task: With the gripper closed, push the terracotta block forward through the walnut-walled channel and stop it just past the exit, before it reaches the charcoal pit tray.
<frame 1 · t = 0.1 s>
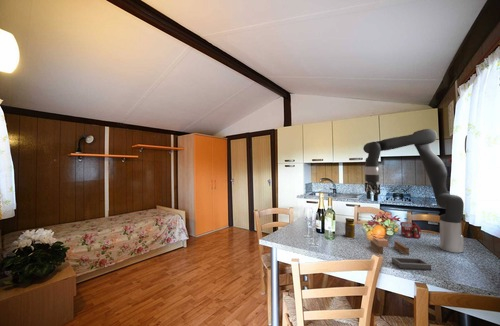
hand: (372, 200, 127), 29 cm above the table, tool pointing down, fingers open, 8 cm apart
pit tray: (410, 266, 102), on the table
channel: (388, 250, 121), on the table
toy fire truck: (410, 237, 145), on the table
block: (380, 245, 130), on the table
condiment: (348, 236, 145), on the table
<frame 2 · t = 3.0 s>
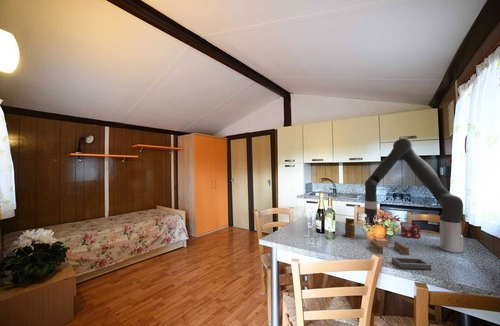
hand: (370, 232, 142), 4 cm above the table, tool pointing down, fingers closed
nothing on the table moved.
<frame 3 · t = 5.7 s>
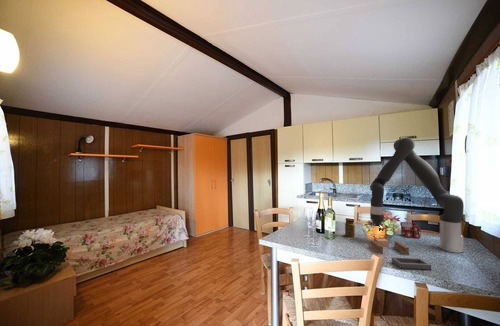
hand: (376, 239, 134), 2 cm above the table, tool pointing down, fingers closed
block: (380, 245, 129), on the table, touching gripper
everything else where it was.
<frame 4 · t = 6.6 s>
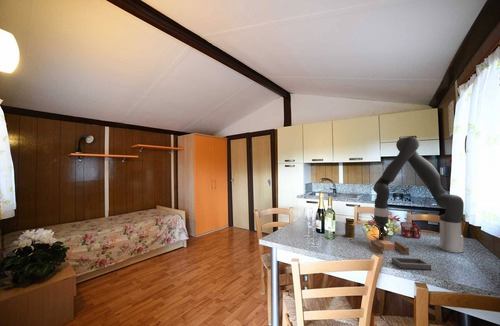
hand: (381, 242, 129), 2 cm above the table, tool pointing down, fingers closed
block: (386, 248, 124), on the table, touching gripper
everything else where it was.
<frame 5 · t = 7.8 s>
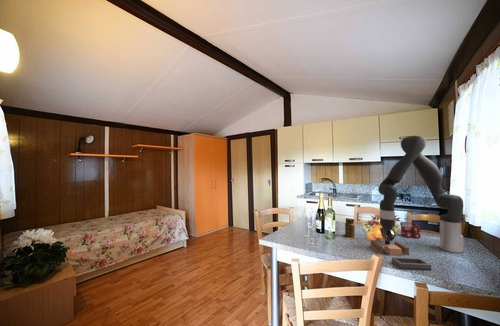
hand: (387, 246, 122), 2 cm above the table, tool pointing down, fingers closed
block: (392, 253, 117), on the table
everything else where it was.
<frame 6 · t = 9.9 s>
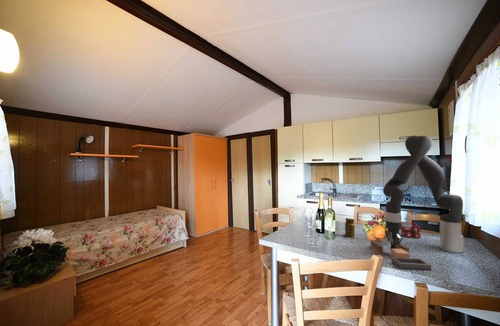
hand: (393, 250, 116), 2 cm above the table, tool pointing down, fingers closed
block: (399, 258, 111), on the table
everything else where it was.
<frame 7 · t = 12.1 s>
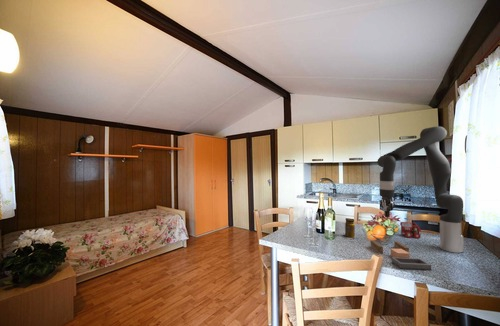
hand: (387, 216, 124), 19 cm above the table, tool pointing down, fingers closed
nothing on the table moved.
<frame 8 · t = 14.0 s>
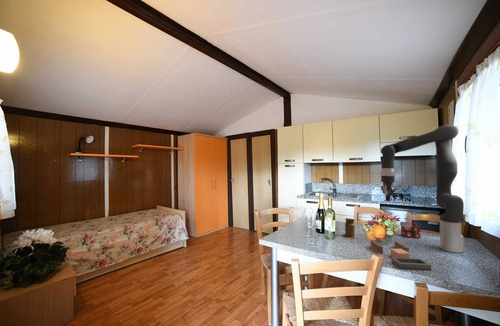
hand: (387, 201, 135), 27 cm above the table, tool pointing down, fingers closed
nothing on the table moved.
at the end: block inside the target area (0.7 cm from its centre), on the table; block tilted 0°; block touching table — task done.
